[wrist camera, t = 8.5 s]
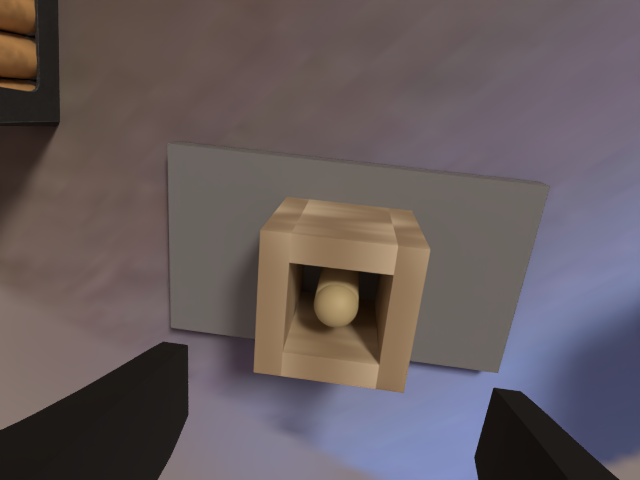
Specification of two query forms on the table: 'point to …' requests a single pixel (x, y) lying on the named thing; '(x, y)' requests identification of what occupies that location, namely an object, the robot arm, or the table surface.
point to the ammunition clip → (29, 63)
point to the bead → (373, 315)
